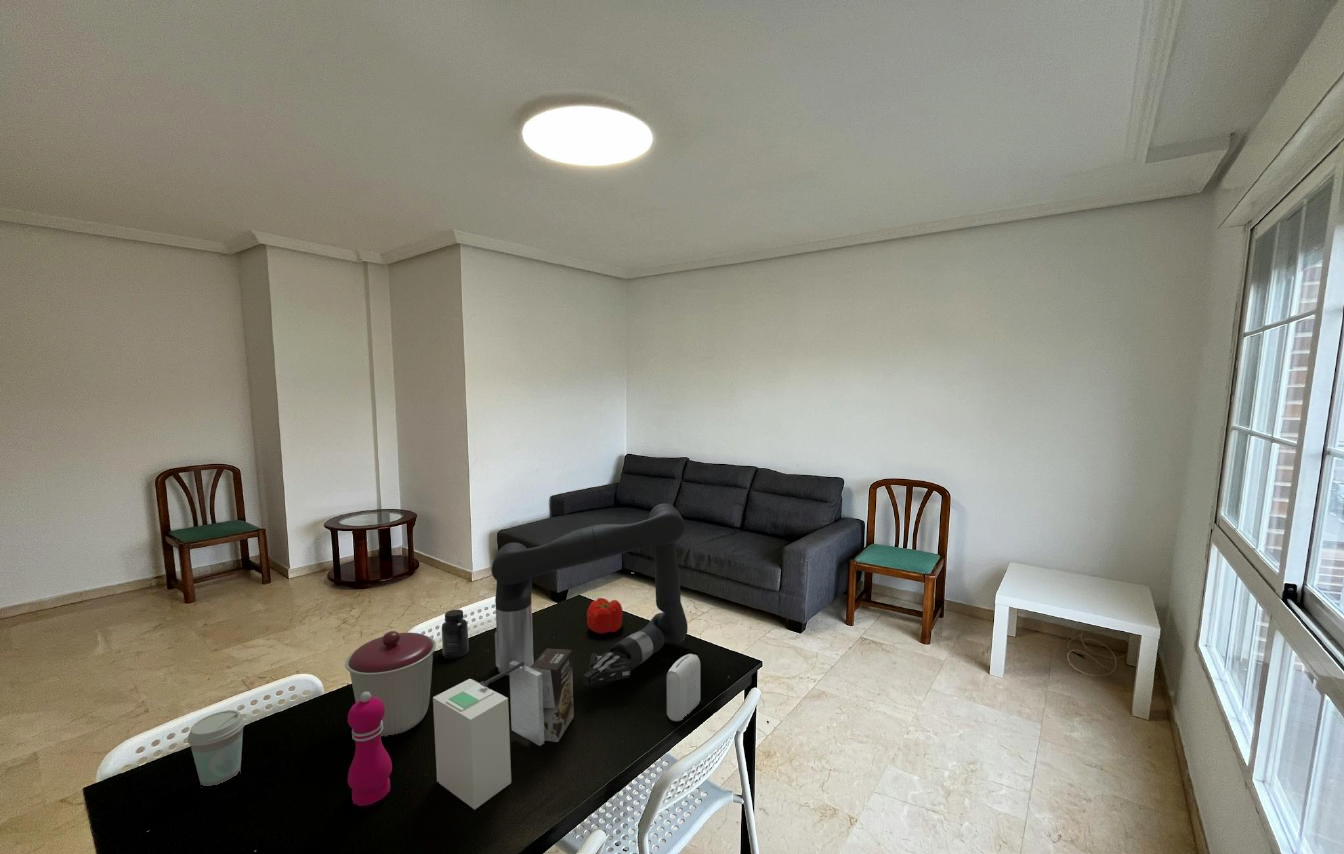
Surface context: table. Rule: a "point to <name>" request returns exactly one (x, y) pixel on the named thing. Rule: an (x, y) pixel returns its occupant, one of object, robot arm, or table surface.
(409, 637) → the canister
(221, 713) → the coffee cup
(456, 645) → the supplement bottle
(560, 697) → the coffee box
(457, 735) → the gauge housing
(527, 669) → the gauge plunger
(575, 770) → the table surface
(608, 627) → the red bell pepper
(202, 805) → the table surface
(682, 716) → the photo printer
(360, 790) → the pepper mill
